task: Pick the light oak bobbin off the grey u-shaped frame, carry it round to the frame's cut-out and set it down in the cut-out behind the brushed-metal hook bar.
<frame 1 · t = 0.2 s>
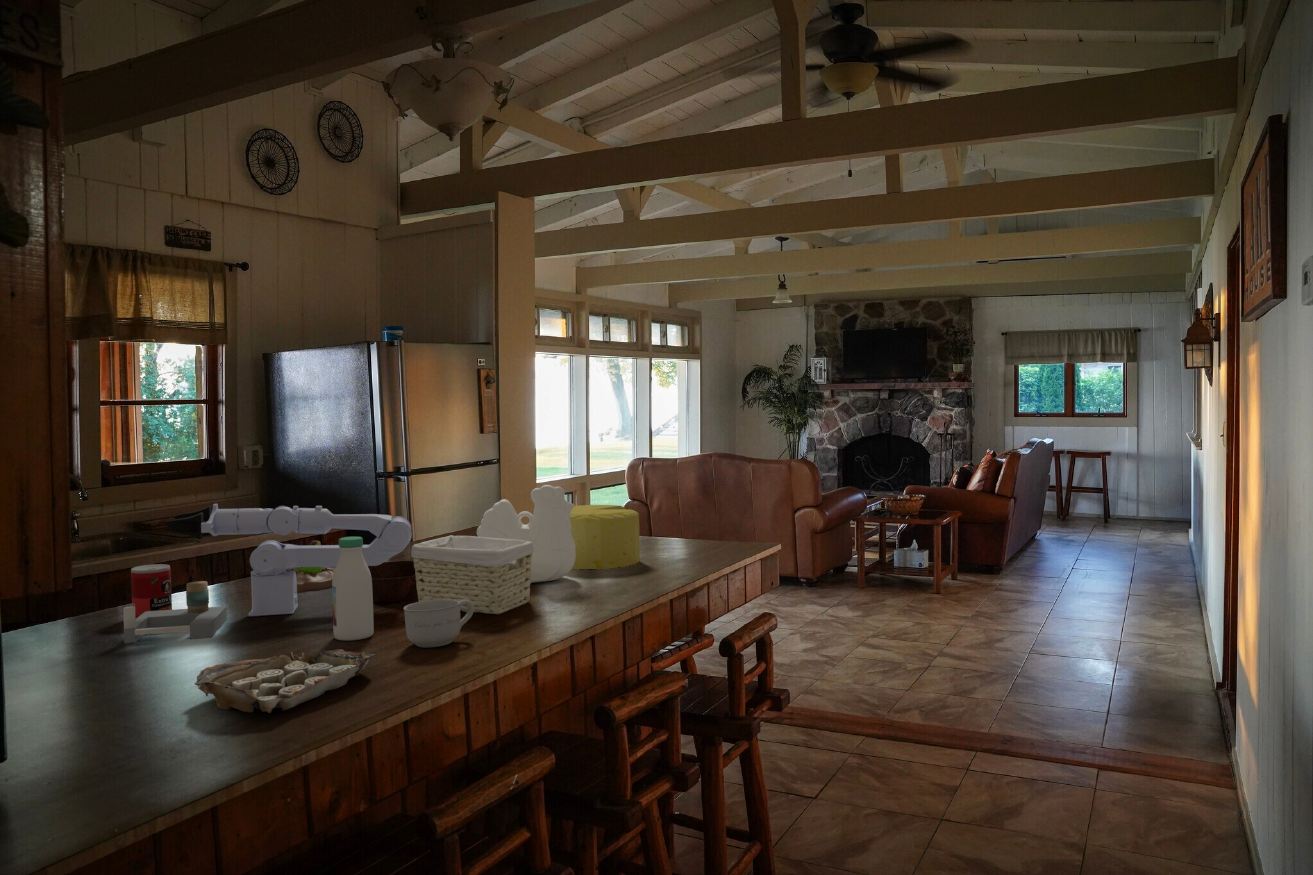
hand: (171, 523, 205), 21 cm above the kitchen island, tool horizontal, fingers open, 7 cm apart
cheese: (594, 562, 268), on the kitchen island
decorative rooster: (528, 580, 243), on the kitchen island
milk bottle: (353, 637, 189), on the kitchen island
canned food: (152, 616, 209), on the kitchen island
grey u-shaped frame: (177, 631, 195), on the kitchen island
bobbin: (198, 610, 200), point 3 cm above the kitchen island, touching grey u-shaped frame
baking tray: (289, 692, 156), on the kitchen island
storage basket: (474, 606, 215), on the kitchen island
plant: (310, 584, 243), on the kitchen island
teacup: (441, 643, 183), on the kitchen island
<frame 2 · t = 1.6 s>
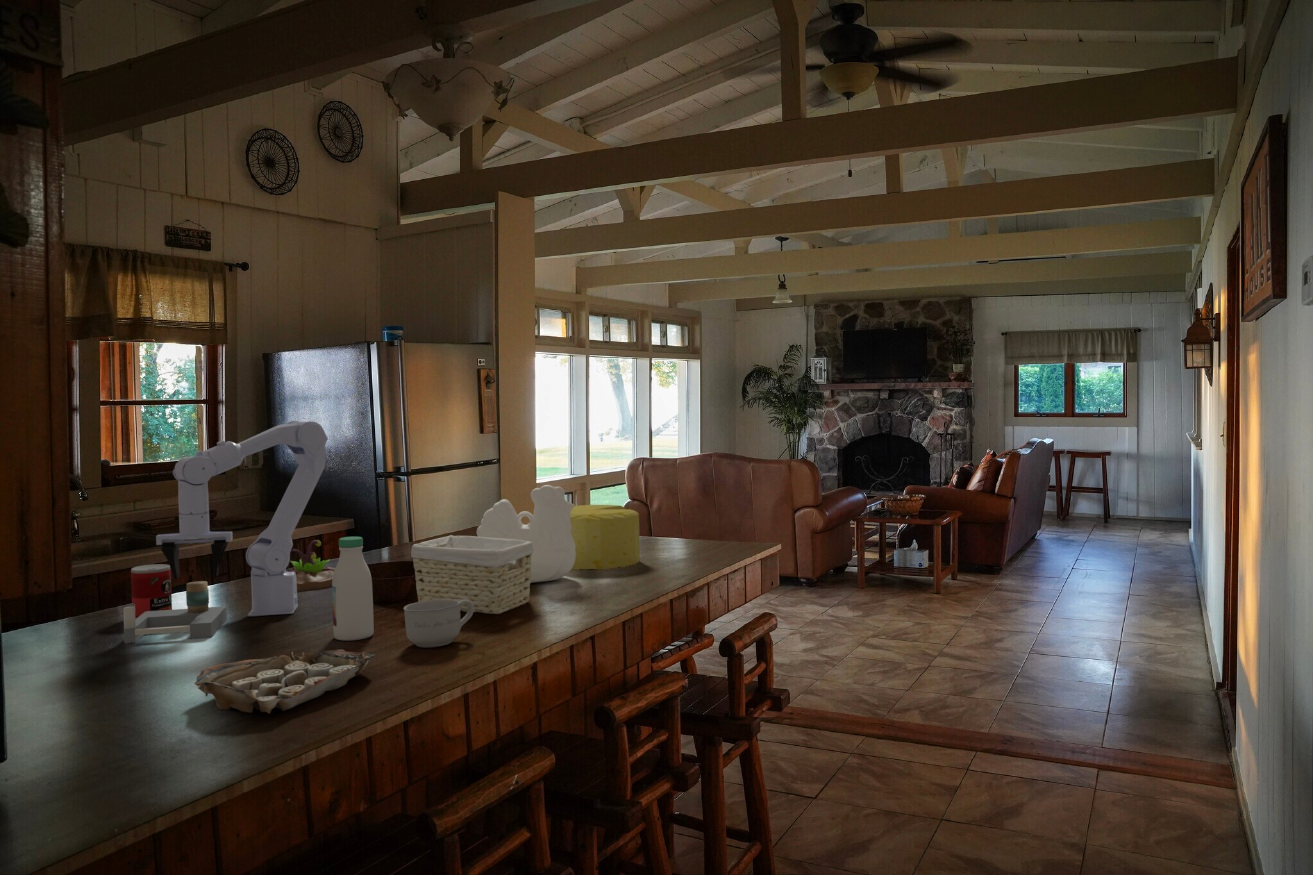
hand: (196, 576, 200), 10 cm above the kitchen island, tool pointing down, fingers open, 7 cm apart
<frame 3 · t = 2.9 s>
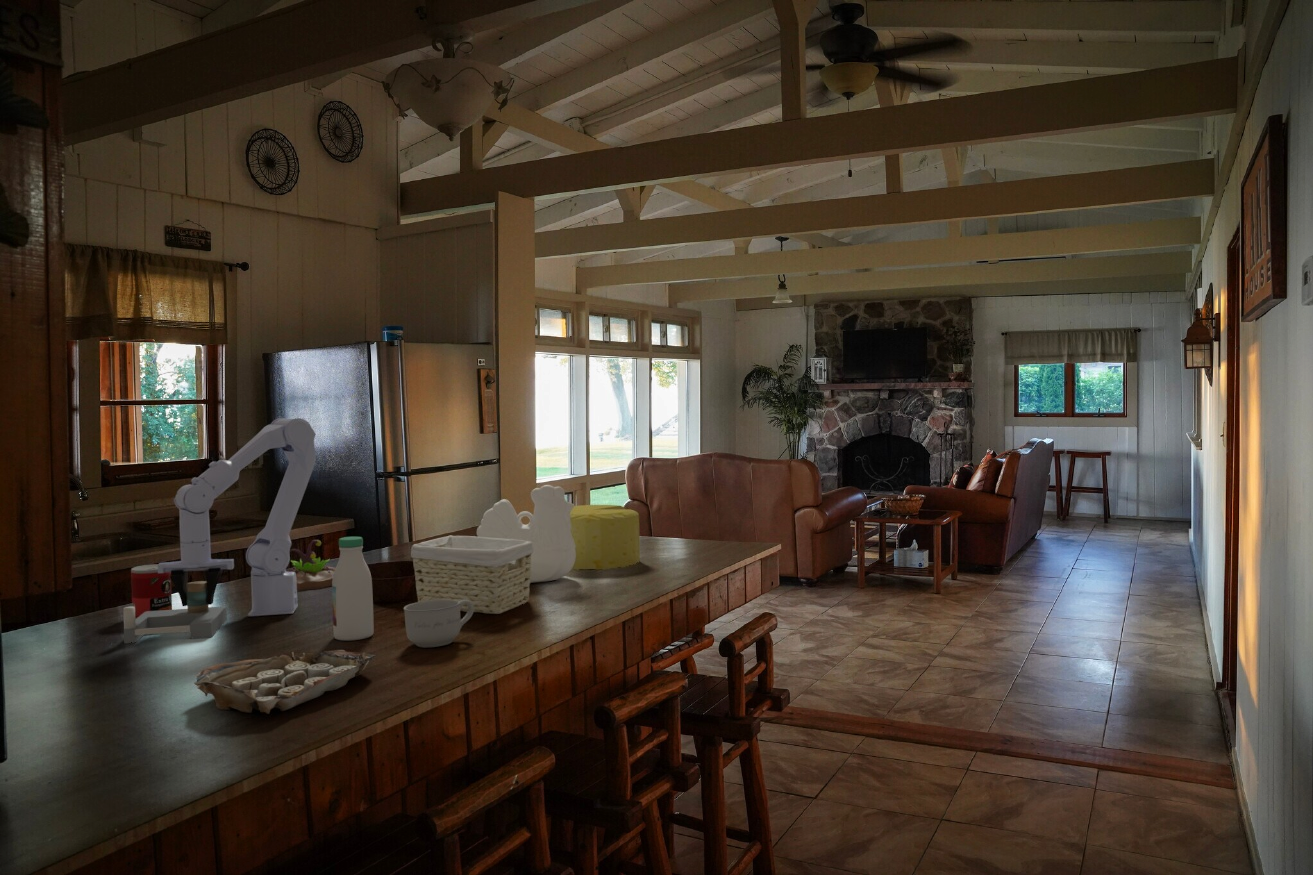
hand: (197, 604, 200), 4 cm above the kitchen island, tool pointing down, fingers closed on bobbin, 4 cm apart
bobbin: (198, 610, 200), point 3 cm above the kitchen island, touching gripper, grey u-shaped frame
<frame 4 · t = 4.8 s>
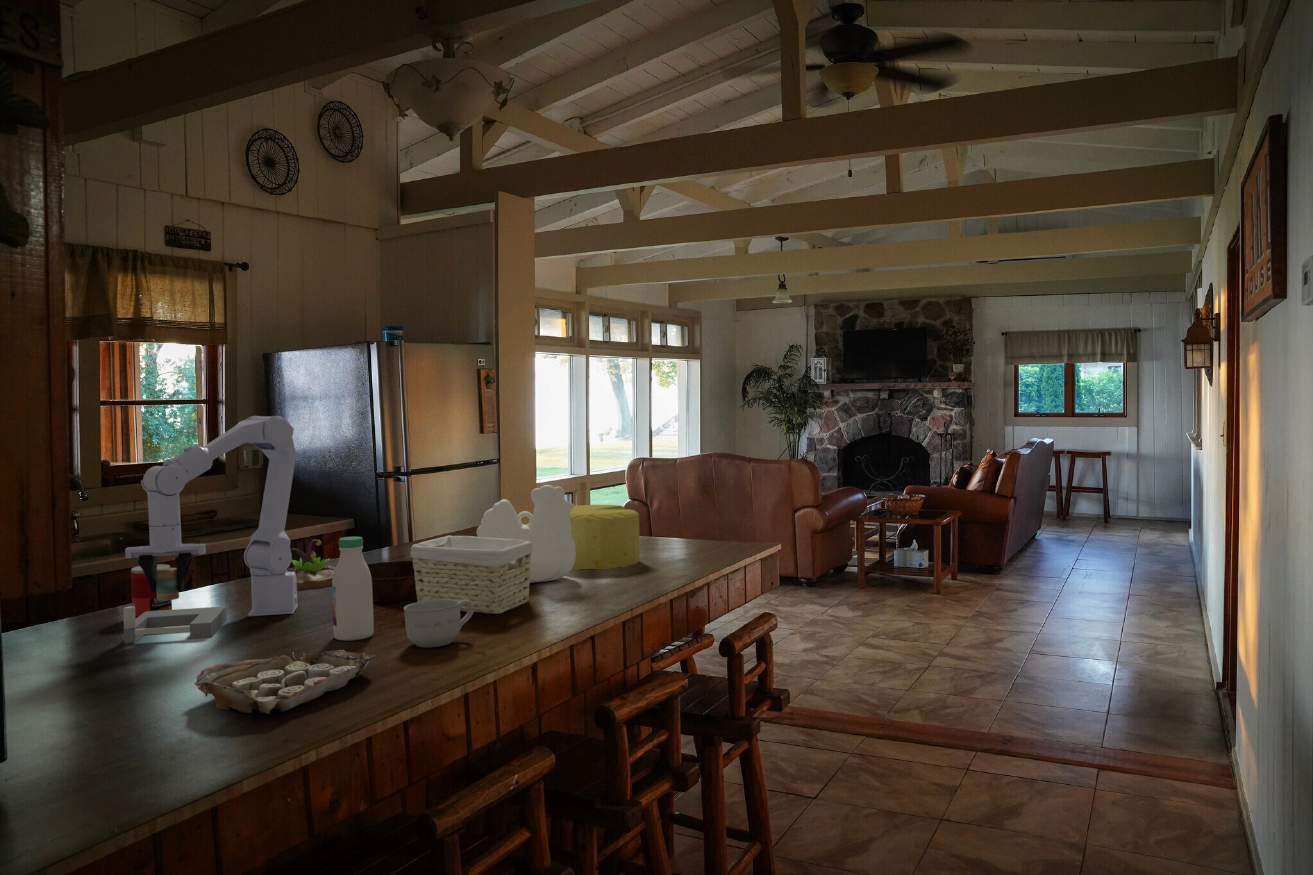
hand: (167, 590, 192), 9 cm above the kitchen island, tool pointing down, fingers closed on bobbin, 4 cm apart
bobbin: (168, 598, 192), point 7 cm above the kitchen island, touching gripper
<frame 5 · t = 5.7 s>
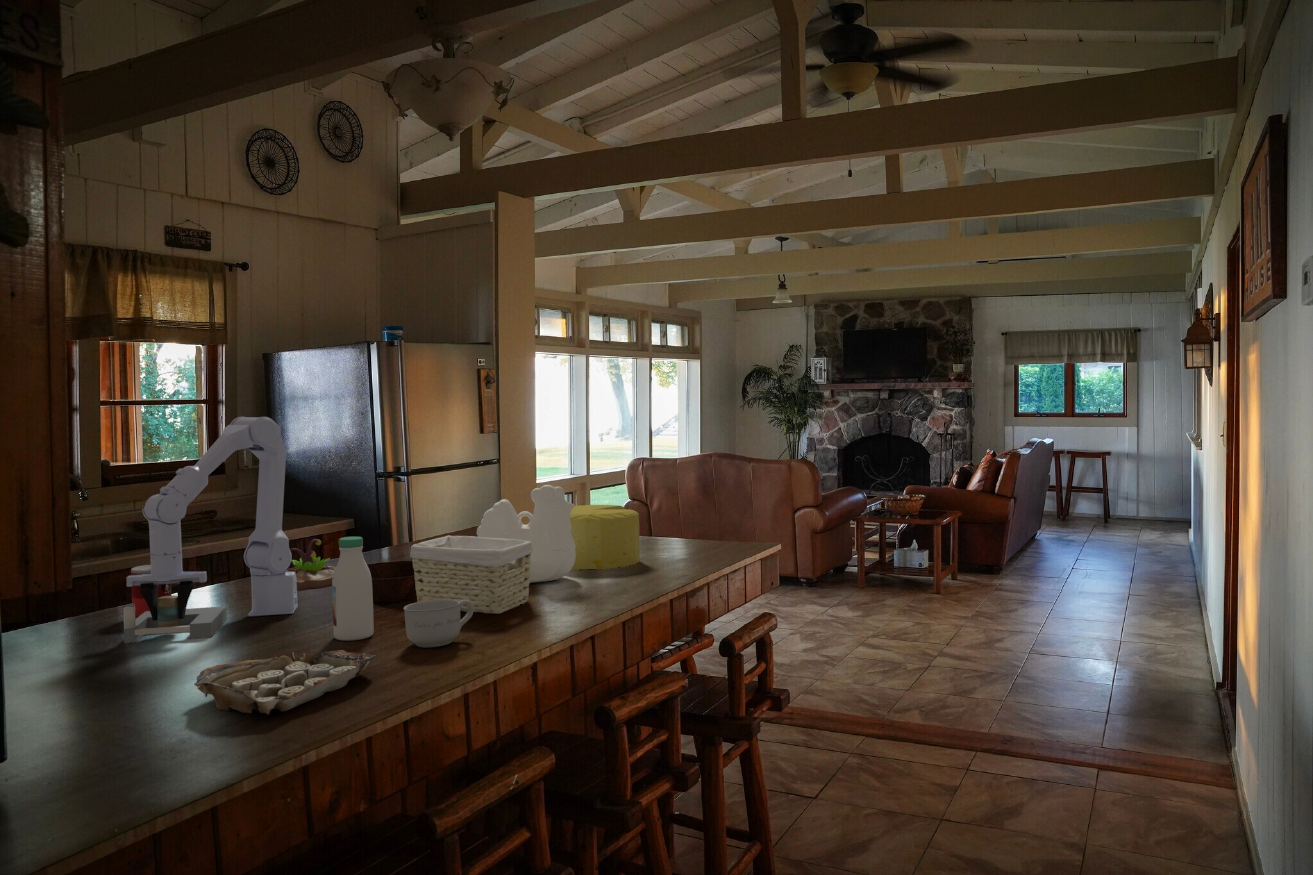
hand: (168, 618, 192), 3 cm above the kitchen island, tool pointing down, fingers closed on bobbin, 4 cm apart
bobbin: (169, 626, 192), point 2 cm above the kitchen island, touching gripper
when the fingers open (3 cm above the kitchen island, at t = 6.7 s): bobbin drops 1 cm, on the kitchen island.
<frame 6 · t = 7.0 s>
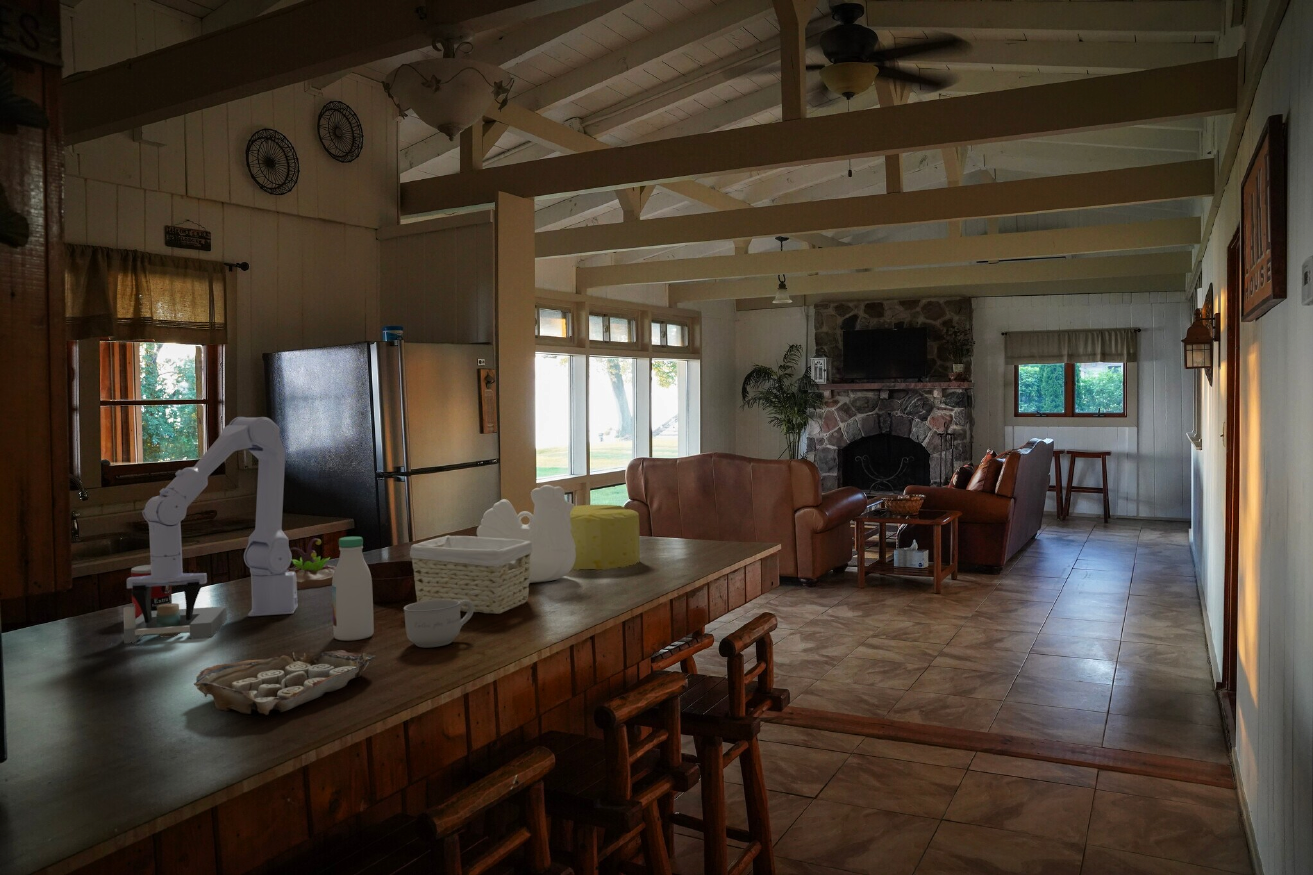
hand: (168, 620, 192), 3 cm above the kitchen island, tool pointing down, fingers open, 7 cm apart
bobbin: (169, 634, 192), on the kitchen island
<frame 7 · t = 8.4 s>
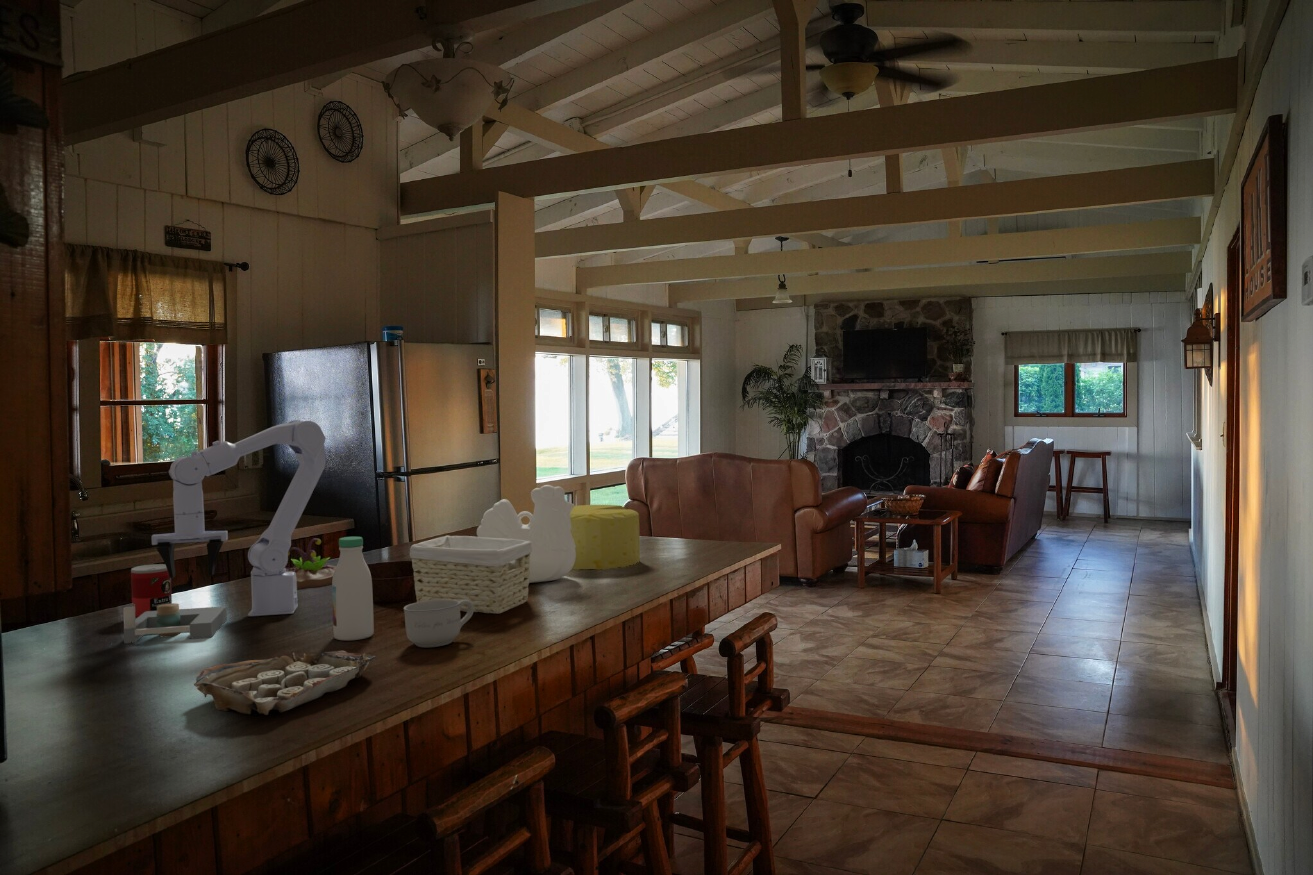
hand: (192, 575, 201), 10 cm above the kitchen island, tool pointing down, fingers open, 7 cm apart
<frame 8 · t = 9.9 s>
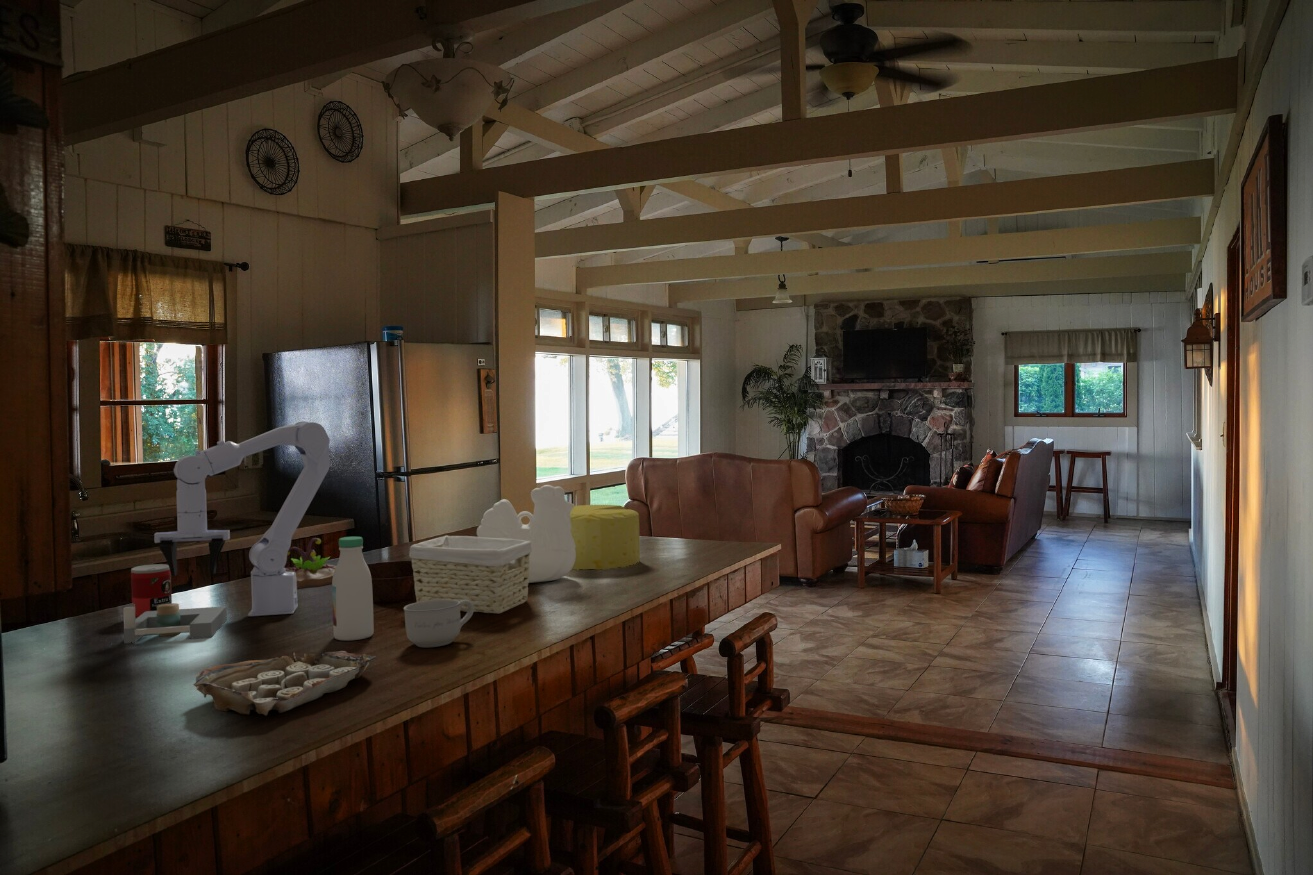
hand: (193, 574, 202), 10 cm above the kitchen island, tool pointing down, fingers open, 7 cm apart
at the end: bobbin inside the target area (0.1 cm from its centre), on the kitchen island; bobbin tilted 1°; the gripper is holding nothing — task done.
